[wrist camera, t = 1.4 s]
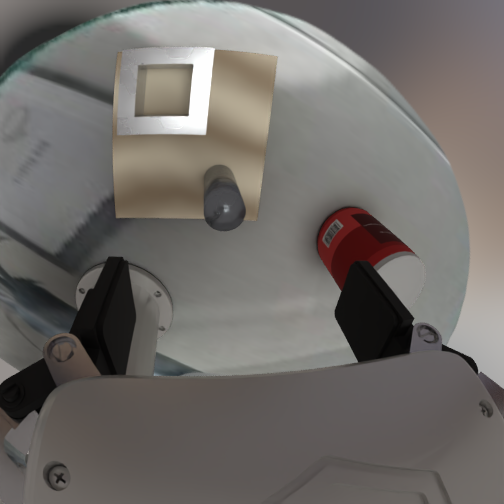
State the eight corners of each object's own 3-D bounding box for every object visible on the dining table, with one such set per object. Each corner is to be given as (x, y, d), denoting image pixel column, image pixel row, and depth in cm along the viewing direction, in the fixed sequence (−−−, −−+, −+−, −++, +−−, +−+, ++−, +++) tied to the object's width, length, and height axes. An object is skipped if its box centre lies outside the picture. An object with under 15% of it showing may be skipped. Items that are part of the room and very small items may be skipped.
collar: (205, 130, 23) (205, 134, 20) (128, 130, 22) (117, 135, 19) (213, 54, 20) (214, 47, 17) (133, 55, 18) (122, 49, 16)
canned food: (317, 272, 34) (353, 336, 25) (312, 212, 30) (359, 268, 21) (371, 257, 35) (418, 312, 25) (373, 199, 31) (433, 246, 21)
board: (255, 215, 29) (256, 220, 28) (119, 213, 27) (116, 217, 26) (274, 58, 22) (277, 56, 21) (121, 53, 19) (117, 52, 18)
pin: (232, 194, 27) (243, 231, 20) (203, 193, 26) (202, 230, 19) (235, 165, 25) (247, 193, 18) (204, 164, 25) (204, 191, 18)
